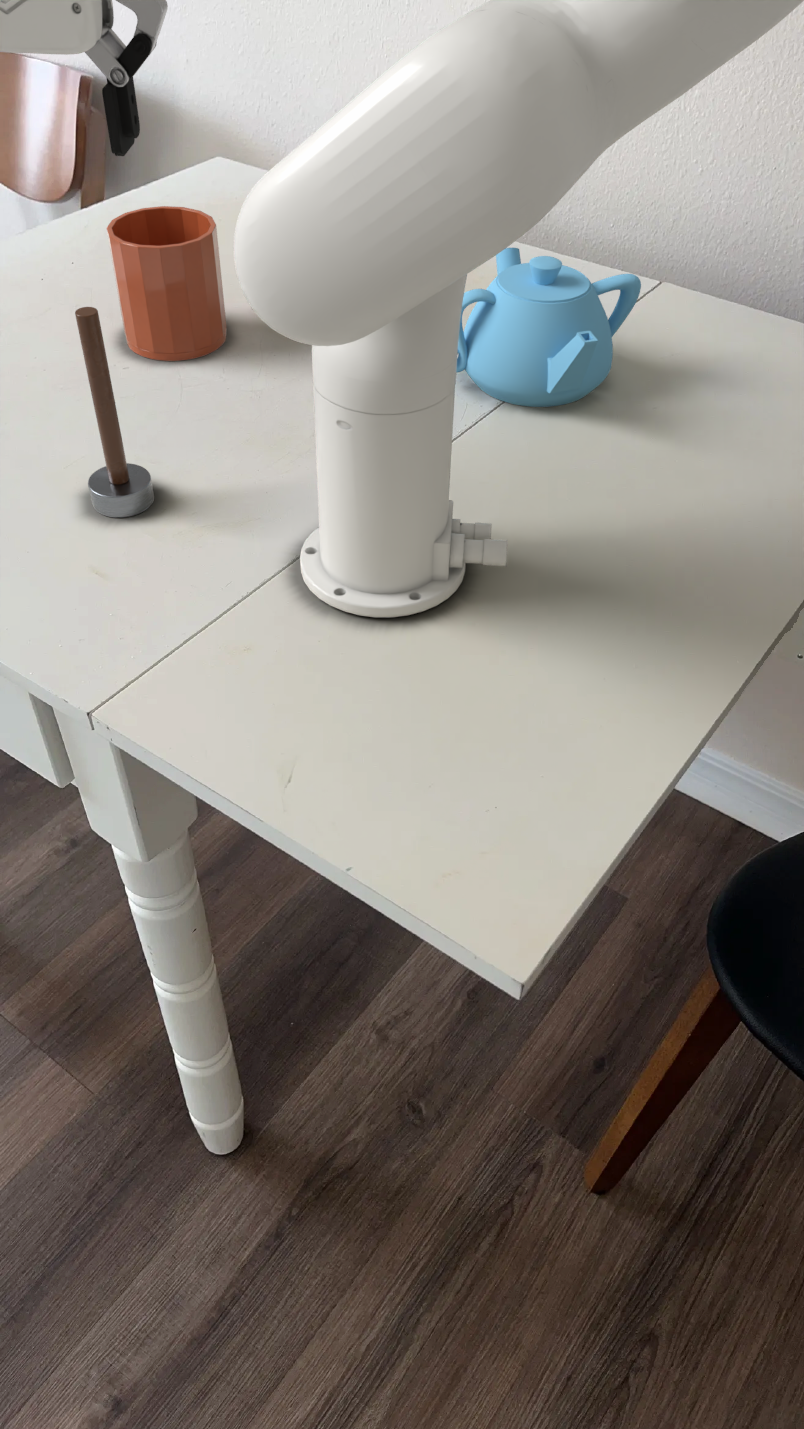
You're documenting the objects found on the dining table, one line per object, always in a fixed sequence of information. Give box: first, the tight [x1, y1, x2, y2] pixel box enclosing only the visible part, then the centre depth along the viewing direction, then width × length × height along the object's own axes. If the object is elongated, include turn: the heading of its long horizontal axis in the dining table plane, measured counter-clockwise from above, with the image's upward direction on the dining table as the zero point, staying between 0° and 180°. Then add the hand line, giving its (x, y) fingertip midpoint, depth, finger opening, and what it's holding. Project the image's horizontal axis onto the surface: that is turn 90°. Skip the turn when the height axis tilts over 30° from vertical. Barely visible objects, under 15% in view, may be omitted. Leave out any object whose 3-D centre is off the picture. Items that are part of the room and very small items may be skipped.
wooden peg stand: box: [74, 306, 155, 518], centre depth 83 cm, size 5×5×16 cm
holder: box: [106, 205, 228, 362], centre depth 105 cm, size 10×10×11 cm
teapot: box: [456, 247, 642, 408], centre depth 101 cm, size 15×17×11 cm
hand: (51, 145), depth 70 cm, fingers open, 9 cm apart
